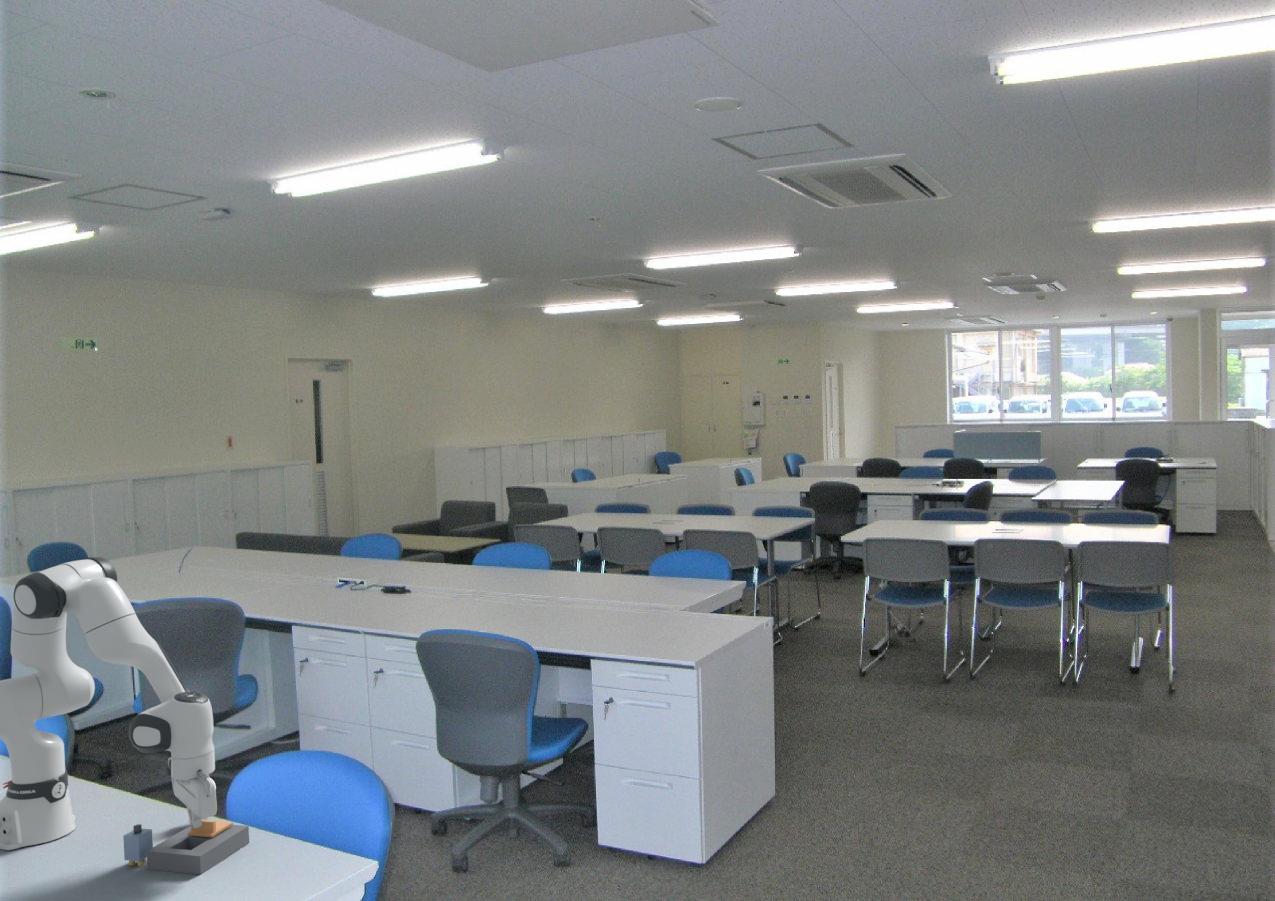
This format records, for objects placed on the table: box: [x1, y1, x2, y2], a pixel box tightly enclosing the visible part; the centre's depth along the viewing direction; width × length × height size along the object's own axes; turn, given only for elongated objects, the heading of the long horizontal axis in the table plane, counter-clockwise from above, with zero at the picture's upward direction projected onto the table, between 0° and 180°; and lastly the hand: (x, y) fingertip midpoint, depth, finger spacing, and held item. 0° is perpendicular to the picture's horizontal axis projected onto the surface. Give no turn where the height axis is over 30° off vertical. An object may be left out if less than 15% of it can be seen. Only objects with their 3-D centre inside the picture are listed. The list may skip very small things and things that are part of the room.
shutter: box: [187, 819, 234, 837], centre depth 219 cm, size 7×7×3 cm
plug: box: [122, 824, 154, 868], centre depth 212 cm, size 4×4×8 cm
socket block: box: [146, 824, 250, 876], centre depth 215 cm, size 14×16×4 cm
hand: (195, 825), depth 215 cm, fingers closed
